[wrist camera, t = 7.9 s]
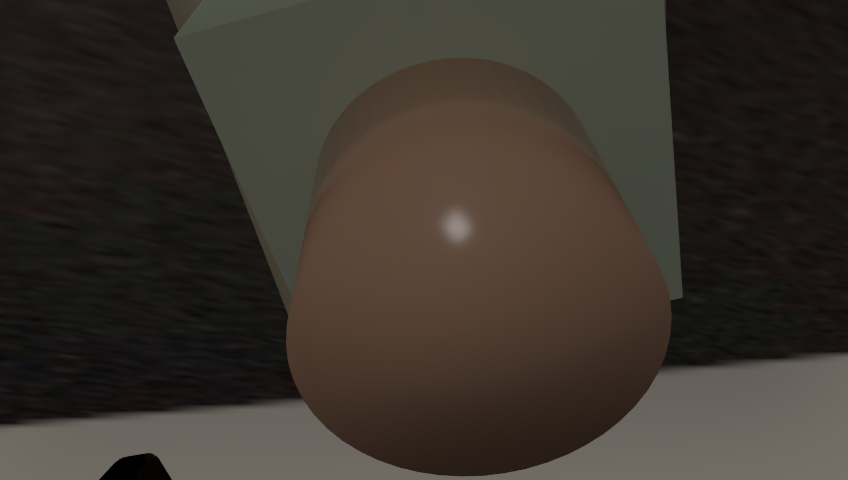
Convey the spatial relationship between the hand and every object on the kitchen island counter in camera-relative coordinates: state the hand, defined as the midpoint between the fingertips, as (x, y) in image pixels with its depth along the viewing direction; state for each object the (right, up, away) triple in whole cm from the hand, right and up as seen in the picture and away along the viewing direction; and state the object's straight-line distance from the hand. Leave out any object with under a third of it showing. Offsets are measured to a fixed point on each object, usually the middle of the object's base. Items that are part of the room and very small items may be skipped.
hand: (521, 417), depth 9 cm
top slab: (-1, +5, +9) cm, 11 cm away
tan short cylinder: (-1, +3, +7) cm, 8 cm away
